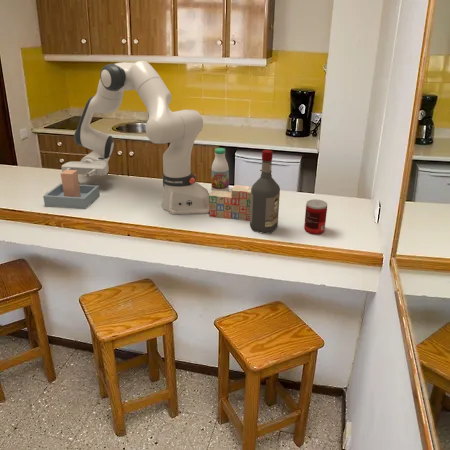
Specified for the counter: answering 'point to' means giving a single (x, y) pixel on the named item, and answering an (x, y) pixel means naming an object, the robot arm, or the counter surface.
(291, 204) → the counter surface
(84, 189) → the tray
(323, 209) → the canned food
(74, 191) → the terracotta block
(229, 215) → the stack of blocks
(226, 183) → the milk bottle
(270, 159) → the liquor
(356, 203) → the counter surface
